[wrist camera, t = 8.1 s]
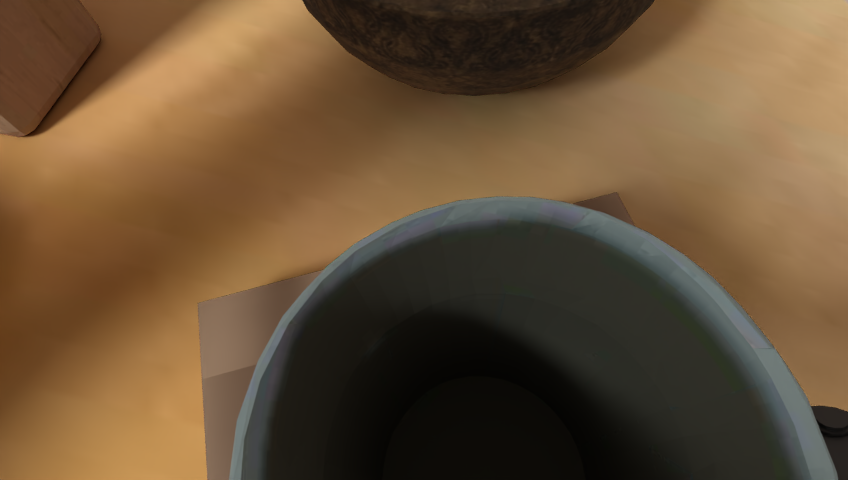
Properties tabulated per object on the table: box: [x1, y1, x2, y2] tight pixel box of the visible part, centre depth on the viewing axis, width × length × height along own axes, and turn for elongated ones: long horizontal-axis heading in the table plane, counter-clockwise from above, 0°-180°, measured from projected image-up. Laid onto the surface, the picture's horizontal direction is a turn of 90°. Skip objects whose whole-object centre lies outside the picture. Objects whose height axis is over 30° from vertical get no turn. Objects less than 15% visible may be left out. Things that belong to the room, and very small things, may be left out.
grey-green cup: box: [229, 197, 838, 480], centre depth 14 cm, size 10×10×12 cm
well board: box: [198, 192, 635, 480], centre depth 20 cm, size 20×20×3 cm
